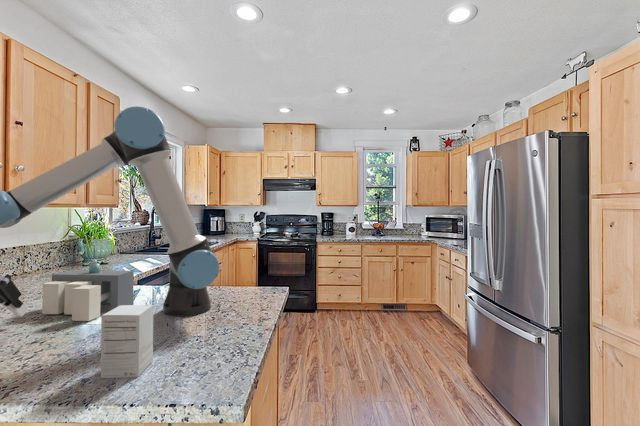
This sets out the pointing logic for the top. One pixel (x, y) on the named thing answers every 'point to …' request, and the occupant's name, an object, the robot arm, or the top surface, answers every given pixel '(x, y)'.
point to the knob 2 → (87, 302)
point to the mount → (109, 281)
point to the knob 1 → (54, 297)
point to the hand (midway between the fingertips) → (23, 311)
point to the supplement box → (126, 341)
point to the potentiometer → (94, 267)
